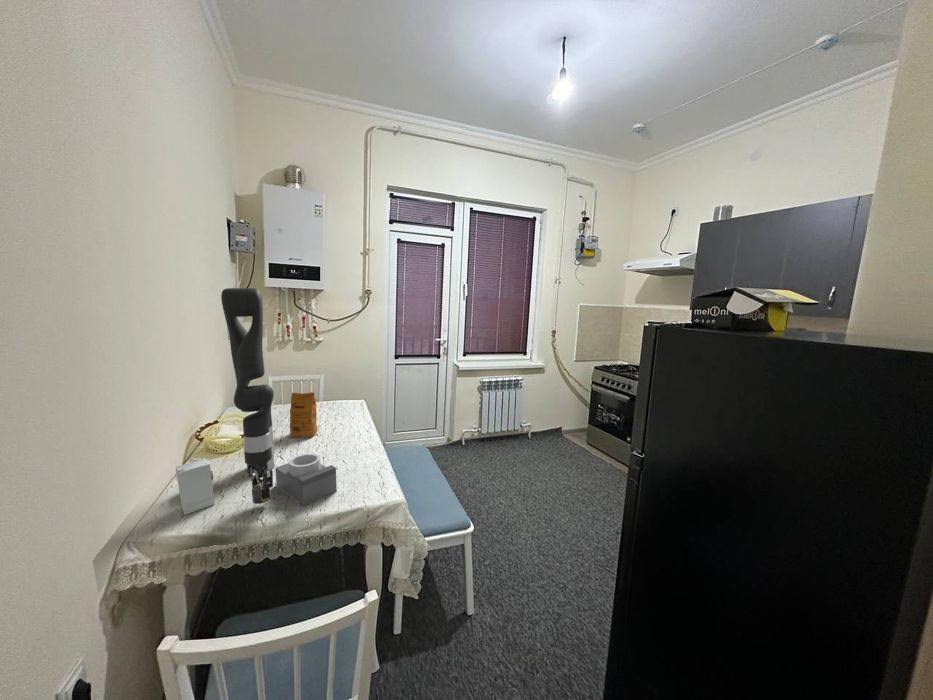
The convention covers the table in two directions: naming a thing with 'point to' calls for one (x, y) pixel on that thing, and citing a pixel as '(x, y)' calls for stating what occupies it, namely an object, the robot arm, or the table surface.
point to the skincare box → (195, 485)
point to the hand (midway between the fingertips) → (261, 494)
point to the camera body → (306, 478)
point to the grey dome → (258, 495)
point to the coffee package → (303, 415)
